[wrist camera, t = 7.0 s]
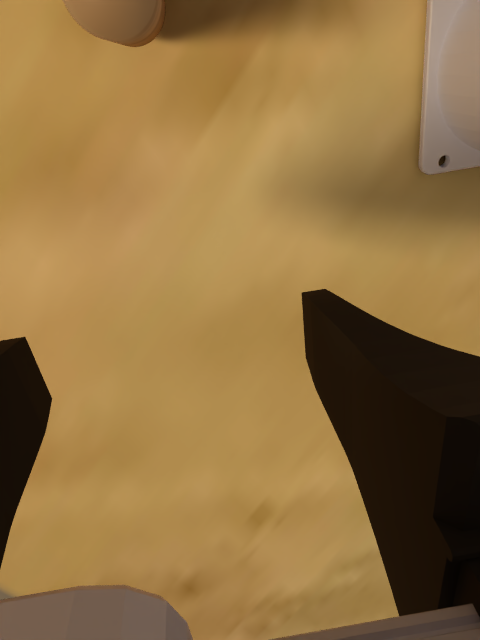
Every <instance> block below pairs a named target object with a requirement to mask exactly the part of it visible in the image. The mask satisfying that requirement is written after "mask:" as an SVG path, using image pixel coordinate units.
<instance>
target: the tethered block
mask: <svg viewBox="0 0 480 640" xmlns="http://www.w3.org/2000/svg"><path fill="white" fill-rule="evenodd" d="M63 2H64V4H65V6H66V8H67V10H68V11H69V13H70V14H71V16H72V17H73V18H74V20H75V21H76V22H77V23H78V24H79V25H80V26H81V27H82V28H83V29H85V30H86V31H87V32H89V33H90V34H92V35H94V36H96V37H99V38H101V39H105V40H108V41H112V42H115V43H118V44H122V45H125V46H130V47H139V46H143V45H146V44H148V43H149V42H151V41H152V40H153V39H154V38H155V37H156V36H157V35H158V34H159V32H160V30H161V28H162V26H163V23H164V19H165V1H164V0H63Z"/></svg>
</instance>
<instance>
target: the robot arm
mask: <svg viewBox="0 0 480 640" xmlns="http://www.w3.org/2000/svg"><path fill="white" fill-rule="evenodd" d="M444 155H445V158H446V159H445V162H444V163H443V164H442V165H440V166H439V164H438V162H439V159H440V158H441V157H442V156H444ZM479 166H480V0H427V15H426V34H425V53H424V71H423V90H422V109H421V127H420V146H419V169H420V170H421V171H422V172H424V173H426V174H428V175H433V174H438V173H444V172H450V171H456V170H461V169H467V168H473V167H479ZM302 305H303V321H304V336H305V352H306V359H307V363H308V366H309V369H310V373H311V376H312V379H313V382H314V385H315V388H316V390H317V393H318V395H319V397H320V399H321V401H322V404H323V406H324V408H325V410H326V412H327V414H328V416H329V419H330V421H331V423H332V425H333V427H334V429H335V431H336V433H337V436H338V438H339V440H340V442H341V444H342V446H343V448H344V450H345V453H346V455H347V457H348V460H349V462H350V464H351V467H352V469H353V472H354V475H355V478H356V481H357V484H358V487H359V490H360V493H361V496H362V498H363V501H364V504H365V507H366V510H367V514H368V517H369V520H370V523H371V526H372V529H373V532H374V535H375V538H376V541H377V544H378V547H379V551H380V554H381V557H382V560H383V564H384V567H385V570H386V573H387V576H388V580H389V583H390V586H391V589H392V593H393V596H394V600H395V603H396V606H397V610H398V613H399V617H393V618H388V619H382V620H377V621H371V622H365V623H360V624H354V625H349V626H343V627H338V628H332V629H326V630H321V631H315V632H310V633H304V634H298V635H293V636H287V637H282V638H276V639H270V640H480V357H479V356H475V355H472V354H468V353H464V352H461V351H457V350H454V349H451V348H447V347H444V346H441V345H438V344H436V343H433V342H430V341H427V340H425V339H422V338H419V337H417V336H414V335H412V334H409V333H407V332H405V331H402V330H400V329H398V328H396V327H394V326H392V325H390V324H387V323H385V322H383V321H382V320H380V319H378V318H376V317H374V316H372V315H370V314H368V313H366V312H365V311H363V310H361V309H359V308H358V307H356V306H354V305H352V304H351V303H349V302H347V301H345V300H344V299H342V298H340V297H339V296H337V295H335V294H334V293H332V292H330V291H328V290H326V289H322V290H315V291H309V292H303V293H302ZM51 402H52V397H51V395H50V393H49V390H48V388H47V386H46V384H45V381H44V379H43V377H42V374H41V372H40V370H39V367H38V365H37V363H36V361H35V358H34V356H33V354H32V351H31V349H30V347H29V345H28V342H27V340H26V338H25V337H21V338H15V339H9V340H3V341H0V568H1V564H2V560H3V556H4V552H5V548H6V544H7V540H8V536H9V532H10V528H11V525H12V522H13V519H14V516H15V513H16V510H17V507H18V504H19V502H20V499H21V496H22V494H23V491H24V489H25V486H26V483H27V481H28V478H29V475H30V473H31V470H32V467H33V465H34V462H35V460H36V457H37V454H38V451H39V449H40V446H41V443H42V440H43V437H44V435H45V431H46V427H47V423H48V418H49V413H50V407H51ZM0 640H193V638H192V635H191V633H190V630H189V627H188V624H187V622H186V621H185V620H184V619H183V618H182V617H181V616H180V615H179V614H178V613H177V612H176V611H175V610H174V608H173V607H172V606H171V605H170V604H169V603H168V602H167V601H166V600H165V599H163V598H162V597H161V596H159V595H155V594H152V593H149V592H146V591H143V590H139V589H136V588H133V587H130V586H126V585H96V586H77V587H71V588H65V589H59V590H54V591H48V592H42V593H37V594H31V595H25V596H19V597H14V598H8V599H3V600H0Z"/></svg>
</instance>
